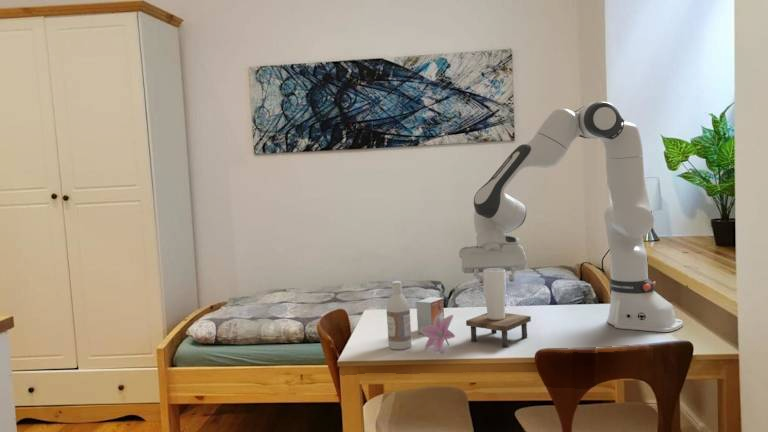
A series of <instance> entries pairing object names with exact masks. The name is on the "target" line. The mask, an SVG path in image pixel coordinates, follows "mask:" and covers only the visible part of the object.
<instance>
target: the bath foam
mask: <svg viewBox="0 0 768 432" xmlns="http://www.w3.org/2000/svg"><path fill="white" fill-rule="evenodd" d="M402 285H403V284H402V281H400V280H393V281H392V282H391V296H390V297H389V299H388V301H387V304H386V319H387V320H386V322H387V324H386V325H387V339H388V347H389V349H391V350H396V351H399V350H407V349H409V348H411V347H412V327H411V325H412V324H411V311H410V310H411V309H410V304H409V302H408V300H407V298H406V296H405V295H404V294H403V288H402V287H403V286H402Z"/></svg>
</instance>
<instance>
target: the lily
mask: <svg viewBox="0 0 768 432" xmlns="http://www.w3.org/2000/svg"><path fill="white" fill-rule="evenodd" d="M453 318H454V315H453V314H451V315H448V316H447V317H446V316H445V317H444V319H443V320H442V321H441V320H440V318H439V316H438V315H436V317H435V320H434V325H430V326H426V327H423V328H421V329H420V331H421V332H422V333H421V334H422V335H424V336H425V337H426V338H428V339H427V341H426V343H425V346H424V350H428V349H429V348H430V347H432V346H433V348H434V350H435V351H436V353H437V354H441V353H442V350H443V349H442V348H443V344H444V341H445V342H446V344H447V345H448V346H450V344H449V341H448V340H449V339H453V338H455V337H456V335H455V334H454V333H453V332H452V331H451V330H449V327H450V325H451V323H452V320H453Z"/></svg>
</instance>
